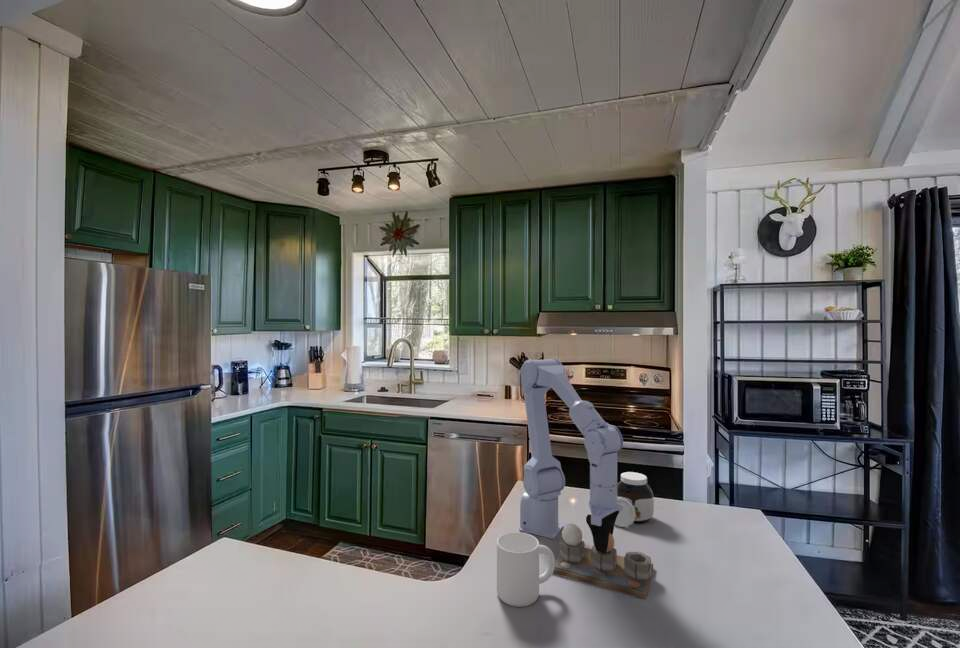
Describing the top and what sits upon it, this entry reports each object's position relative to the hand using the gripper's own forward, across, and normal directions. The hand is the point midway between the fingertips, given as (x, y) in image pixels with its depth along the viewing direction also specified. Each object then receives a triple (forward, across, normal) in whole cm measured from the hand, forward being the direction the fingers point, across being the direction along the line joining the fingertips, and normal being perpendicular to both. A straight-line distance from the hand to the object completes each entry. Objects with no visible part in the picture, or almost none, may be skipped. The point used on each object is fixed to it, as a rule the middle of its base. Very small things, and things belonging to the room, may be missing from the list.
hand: (603, 545), depth 93 cm
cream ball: (-1, 0, +7) cm, 7 cm away
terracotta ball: (-1, 0, 0) cm, 1 cm away
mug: (+5, -16, +12) cm, 20 cm away
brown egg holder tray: (+5, -1, 0) cm, 5 cm away
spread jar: (+5, +27, -2) cm, 28 cm away
